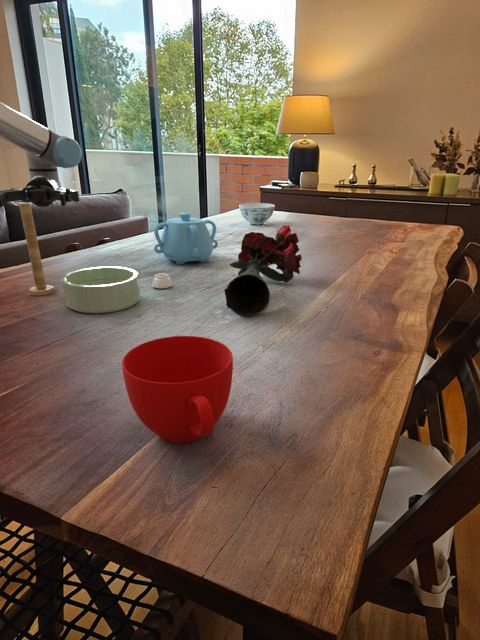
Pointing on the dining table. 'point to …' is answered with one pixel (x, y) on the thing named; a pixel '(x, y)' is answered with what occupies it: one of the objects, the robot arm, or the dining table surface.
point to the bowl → (101, 289)
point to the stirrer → (34, 252)
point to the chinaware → (256, 212)
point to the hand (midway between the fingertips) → (31, 200)
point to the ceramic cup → (179, 385)
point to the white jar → (162, 281)
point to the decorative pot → (186, 239)
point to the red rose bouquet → (261, 270)
